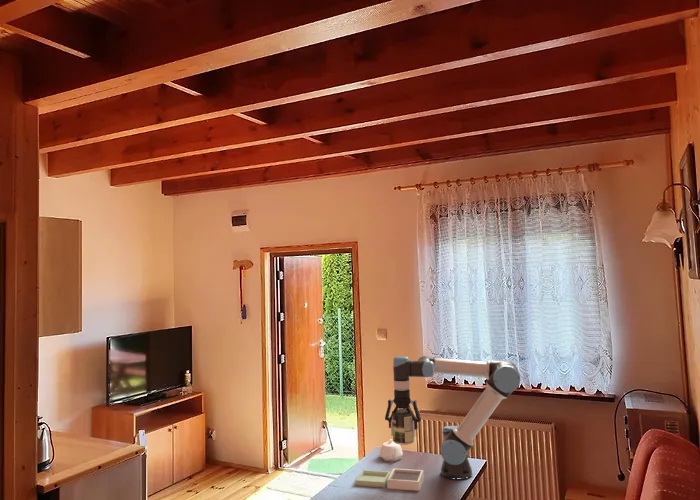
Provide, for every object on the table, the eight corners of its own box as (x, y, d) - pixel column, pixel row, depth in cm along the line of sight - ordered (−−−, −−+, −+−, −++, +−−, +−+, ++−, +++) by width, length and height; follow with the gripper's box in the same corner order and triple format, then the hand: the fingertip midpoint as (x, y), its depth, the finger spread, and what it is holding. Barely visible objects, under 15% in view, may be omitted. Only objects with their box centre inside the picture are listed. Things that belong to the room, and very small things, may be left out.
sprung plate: (420, 475, 256) (420, 473, 256) (416, 485, 244) (416, 483, 244) (395, 473, 259) (395, 471, 259) (390, 483, 247) (390, 481, 247)
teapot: (407, 464, 278) (406, 444, 279) (384, 466, 276) (384, 446, 276) (398, 452, 298) (397, 433, 298) (376, 454, 296) (375, 435, 296)
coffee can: (394, 445, 249) (393, 415, 250) (391, 438, 259) (390, 409, 260) (416, 444, 249) (414, 414, 250) (412, 437, 260) (411, 408, 260)
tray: (390, 476, 261) (390, 471, 261) (384, 487, 247) (384, 482, 247) (362, 475, 264) (362, 469, 264) (355, 485, 251) (355, 480, 251)
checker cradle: (423, 478, 257) (423, 470, 257) (419, 490, 242) (419, 481, 242) (393, 476, 261) (393, 468, 261) (387, 488, 246) (387, 479, 246)
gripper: (426, 388, 256) (428, 434, 255) (381, 386, 263) (382, 431, 262) (423, 391, 249) (425, 439, 247) (377, 389, 256) (378, 436, 255)
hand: (403, 435), depth 255 cm, fingers closed on coffee can, 10 cm apart
